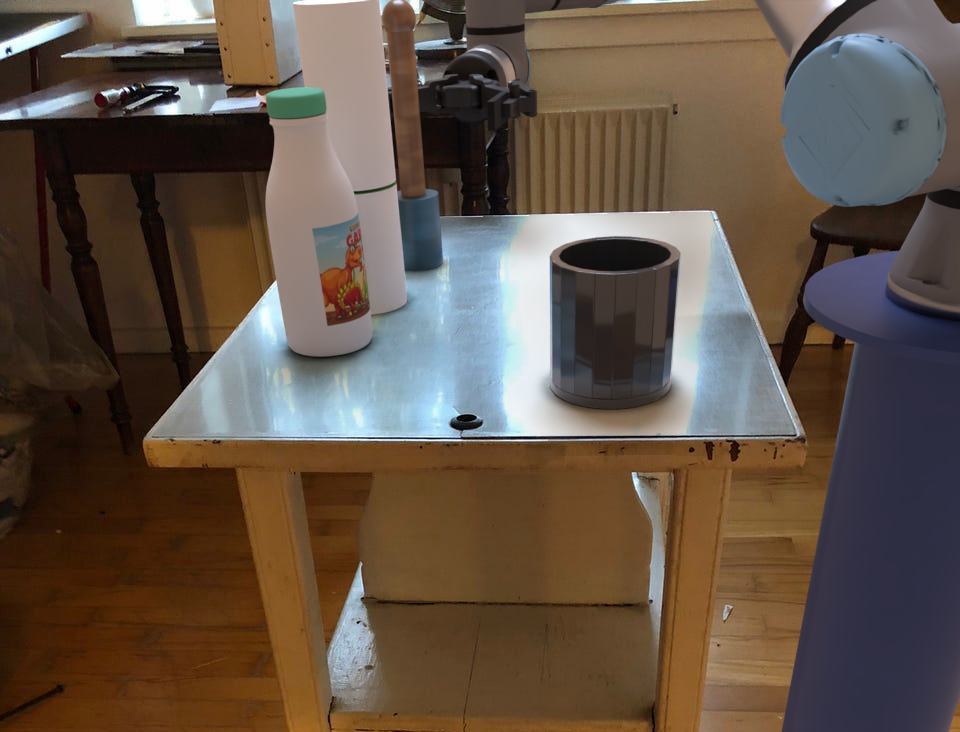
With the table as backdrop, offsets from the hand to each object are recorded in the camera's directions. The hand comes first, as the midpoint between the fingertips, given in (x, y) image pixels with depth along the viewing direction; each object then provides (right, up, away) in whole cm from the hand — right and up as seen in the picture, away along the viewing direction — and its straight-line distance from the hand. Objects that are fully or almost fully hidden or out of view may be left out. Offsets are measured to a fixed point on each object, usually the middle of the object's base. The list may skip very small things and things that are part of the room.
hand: (428, 117), depth 103 cm
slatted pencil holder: (+16, -35, -26) cm, 47 cm away
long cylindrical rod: (-1, -15, +2) cm, 15 cm away
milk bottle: (-8, -29, -16) cm, 34 cm away
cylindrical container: (-5, -23, -7) cm, 24 cm away
